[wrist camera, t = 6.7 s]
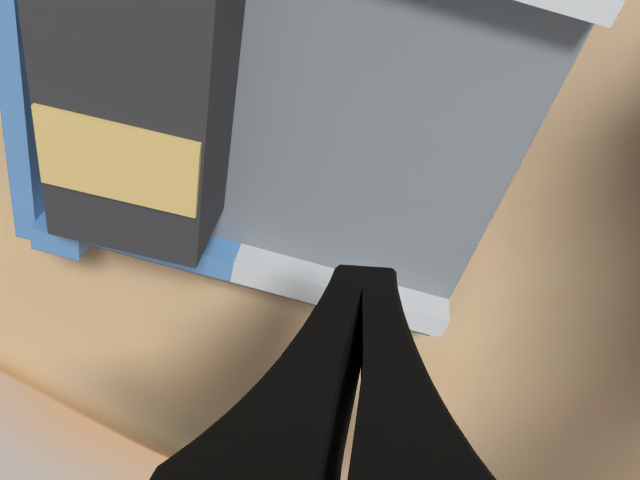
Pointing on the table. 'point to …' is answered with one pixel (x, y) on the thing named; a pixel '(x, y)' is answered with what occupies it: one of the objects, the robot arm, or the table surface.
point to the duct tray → (355, 138)
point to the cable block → (133, 118)
